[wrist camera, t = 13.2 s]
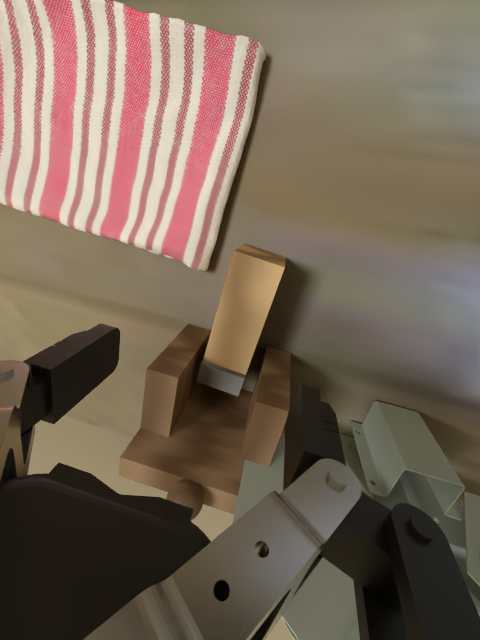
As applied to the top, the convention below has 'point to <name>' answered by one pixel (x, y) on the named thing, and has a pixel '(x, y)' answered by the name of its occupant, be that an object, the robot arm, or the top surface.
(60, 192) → the dish towel
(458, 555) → the bracket
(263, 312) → the tan rectangular block
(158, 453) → the wooden block holder
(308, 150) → the top surface
